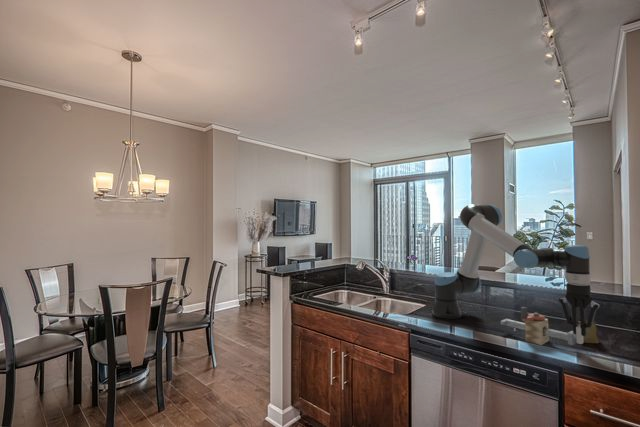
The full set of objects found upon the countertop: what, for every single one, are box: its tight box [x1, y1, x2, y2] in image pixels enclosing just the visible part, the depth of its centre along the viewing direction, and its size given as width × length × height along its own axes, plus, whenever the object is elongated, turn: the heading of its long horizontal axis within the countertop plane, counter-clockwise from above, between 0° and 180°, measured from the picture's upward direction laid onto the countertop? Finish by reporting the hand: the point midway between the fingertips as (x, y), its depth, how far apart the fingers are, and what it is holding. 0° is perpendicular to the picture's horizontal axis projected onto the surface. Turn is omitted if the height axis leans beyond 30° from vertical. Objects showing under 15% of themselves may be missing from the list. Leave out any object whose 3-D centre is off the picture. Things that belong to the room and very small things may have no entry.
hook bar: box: [500, 318, 578, 346], centre depth 137 cm, size 27×6×4 cm, turn 35°
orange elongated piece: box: [520, 306, 546, 322], centre depth 136 cm, size 12×6×6 cm, turn 113°
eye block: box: [524, 318, 550, 346], centre depth 137 cm, size 6×8×10 cm
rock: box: [571, 319, 600, 344], centre depth 137 cm, size 11×9×10 cm
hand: (580, 342), depth 125 cm, fingers closed
